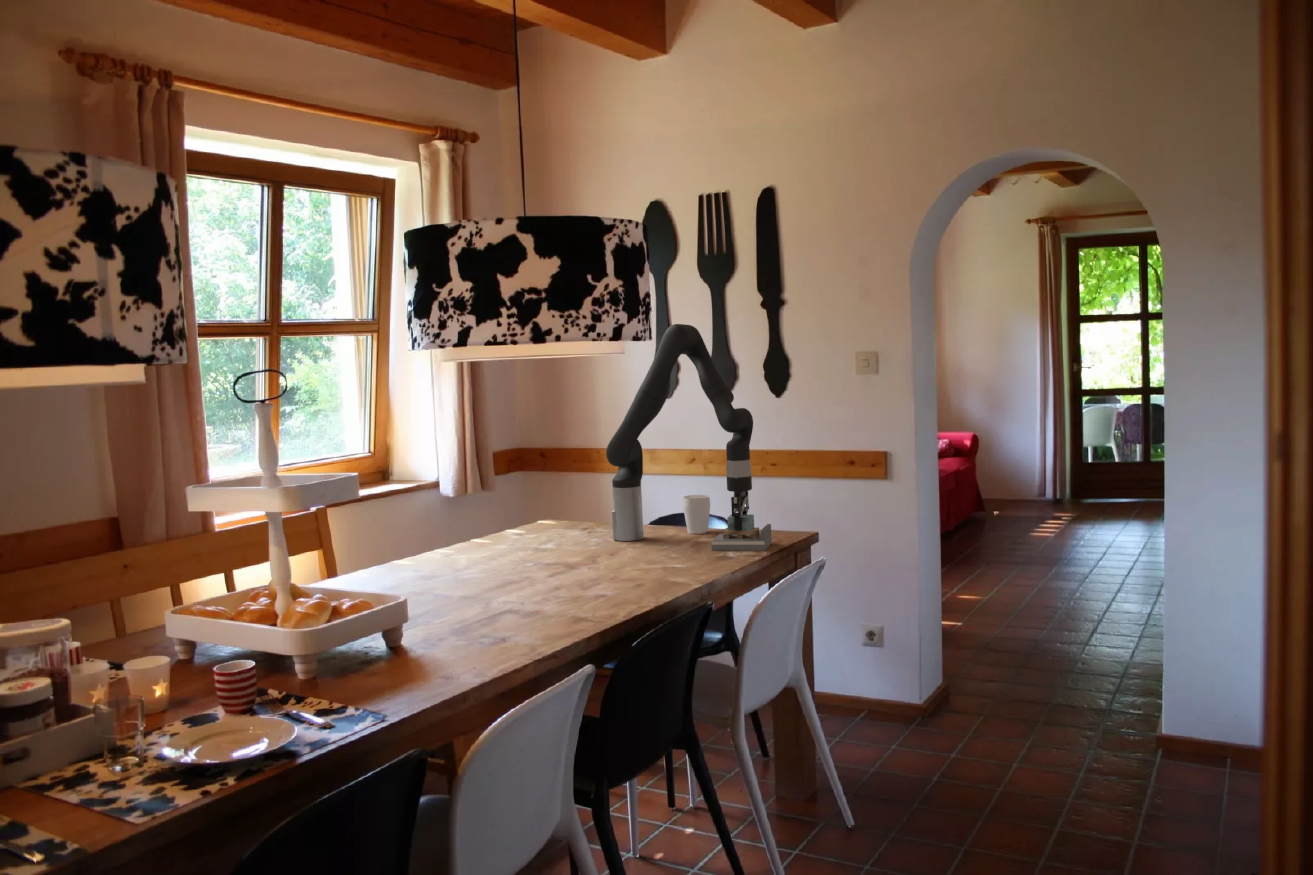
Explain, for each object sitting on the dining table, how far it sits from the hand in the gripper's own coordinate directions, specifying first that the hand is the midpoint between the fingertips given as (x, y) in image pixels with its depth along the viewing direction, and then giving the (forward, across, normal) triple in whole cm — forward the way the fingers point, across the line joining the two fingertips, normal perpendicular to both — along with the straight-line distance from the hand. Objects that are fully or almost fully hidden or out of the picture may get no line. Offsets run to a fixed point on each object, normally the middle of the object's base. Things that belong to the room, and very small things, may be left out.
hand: (741, 527), depth 320 cm
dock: (+6, 0, 0) cm, 6 cm away
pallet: (+3, 0, 0) cm, 3 cm away
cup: (+6, -26, -20) cm, 33 cm away
